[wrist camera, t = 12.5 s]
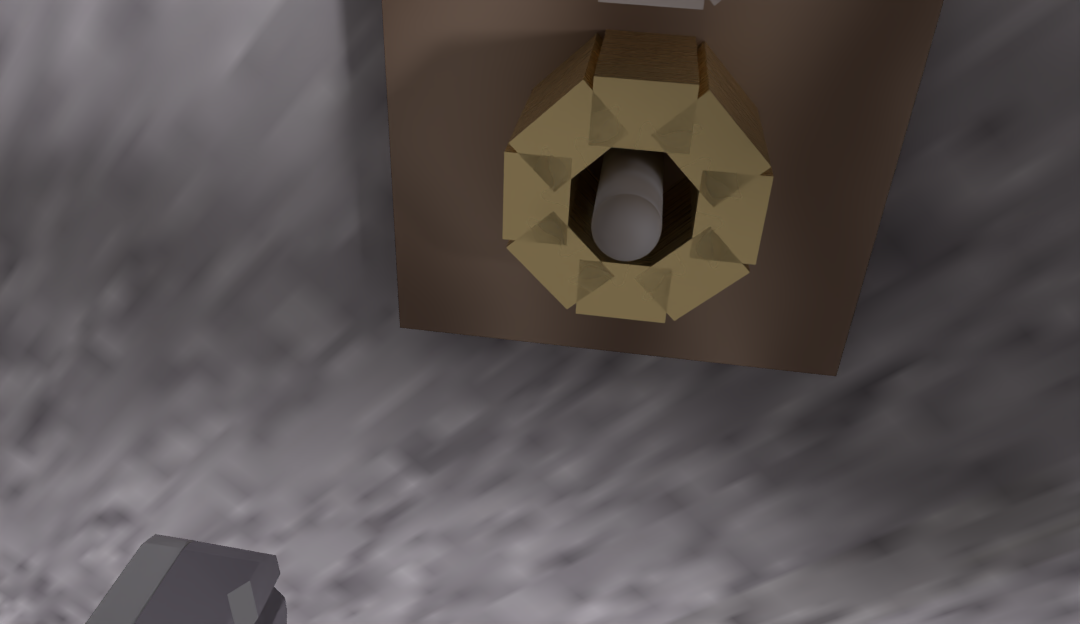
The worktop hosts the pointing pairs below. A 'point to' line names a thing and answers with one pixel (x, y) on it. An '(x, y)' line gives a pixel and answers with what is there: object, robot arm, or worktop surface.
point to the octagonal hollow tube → (643, 124)
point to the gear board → (804, 129)
